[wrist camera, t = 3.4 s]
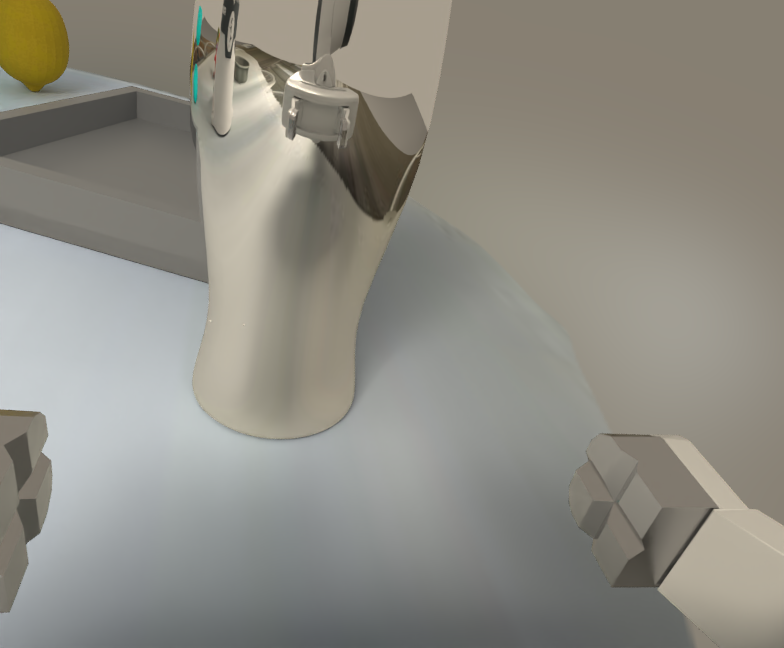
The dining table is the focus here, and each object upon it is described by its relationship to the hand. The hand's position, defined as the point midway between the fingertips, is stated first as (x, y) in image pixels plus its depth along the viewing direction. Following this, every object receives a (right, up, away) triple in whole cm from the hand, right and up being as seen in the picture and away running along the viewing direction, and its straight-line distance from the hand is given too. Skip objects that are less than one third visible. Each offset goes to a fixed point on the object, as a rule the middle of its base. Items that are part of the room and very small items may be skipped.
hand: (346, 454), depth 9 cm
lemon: (-29, +21, +40) cm, 54 cm away
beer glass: (-4, -1, +14) cm, 14 cm away
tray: (-13, +11, +28) cm, 33 cm away
